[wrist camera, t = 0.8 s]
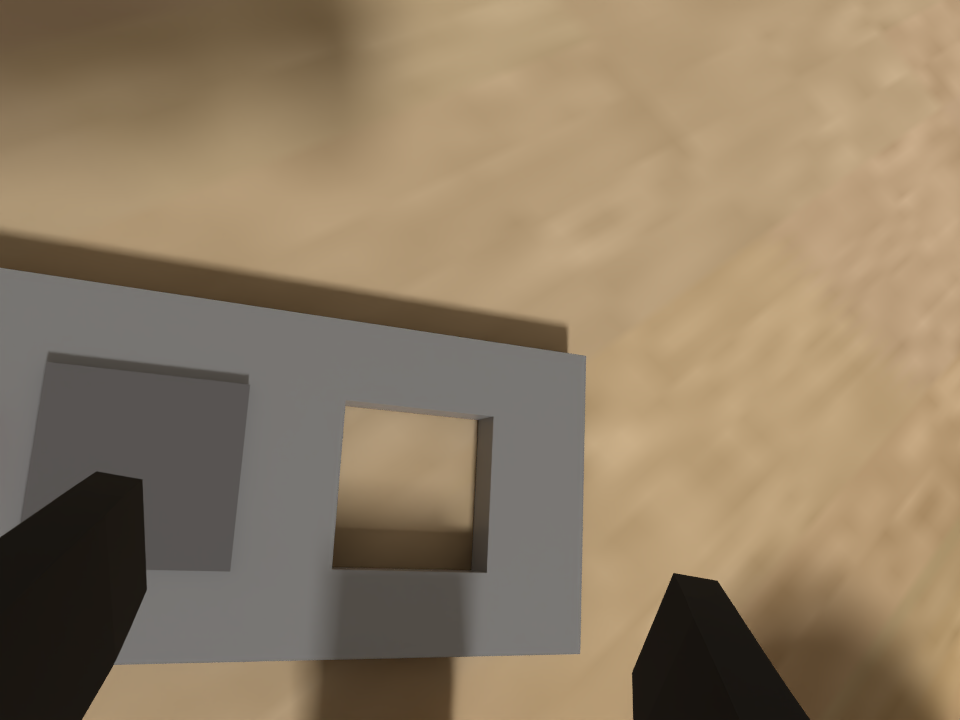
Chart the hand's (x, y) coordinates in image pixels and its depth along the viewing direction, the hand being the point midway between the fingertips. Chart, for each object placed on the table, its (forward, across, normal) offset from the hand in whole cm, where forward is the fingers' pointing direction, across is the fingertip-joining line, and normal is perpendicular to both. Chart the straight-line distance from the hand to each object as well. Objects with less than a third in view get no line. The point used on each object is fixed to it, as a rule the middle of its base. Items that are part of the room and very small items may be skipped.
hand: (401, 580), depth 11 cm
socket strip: (+11, +4, +8) cm, 14 cm away
